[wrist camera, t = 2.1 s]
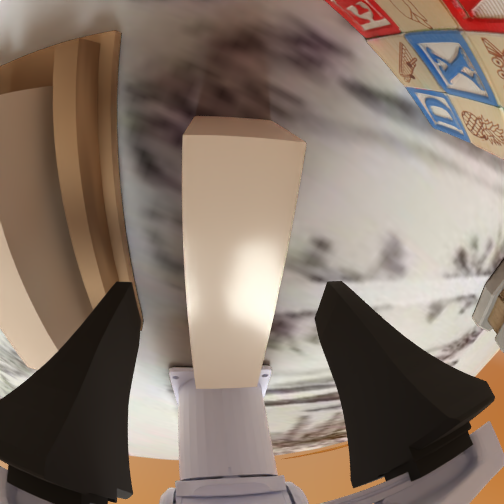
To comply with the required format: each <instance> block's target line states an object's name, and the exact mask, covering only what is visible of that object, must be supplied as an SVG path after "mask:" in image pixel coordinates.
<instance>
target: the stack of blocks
mask: <svg viewBox="0 0 504 504" xmlns="http://www.w3.org/2000/svg"><path fill="white" fill-rule="evenodd" d="M325 1H326V2H327V3H328V4H329V5H330V6H331V7H333V8H334V9H335V10H336V11H337V12H338V13H339V14H340V15H342V16H343V17H344V18H345V19H346V20H347V21H349V23H350V24H351V25H352V26H353V27H354V28H355V29H356V30H357V31H358V32H359V33H360V34H362V35H363V36H364V37H365V38H366V41H367V43H368V44H369V45H370V46H371V47H372V48H373V50H374V51H375V52H376V53H377V54H378V55H379V56H380V57H381V58H382V60H383V61H384V62H385V63H386V64H387V66H388V67H389V68H390V69H391V70H392V72H393V73H394V74H395V75H396V77H397V78H398V79H399V81H400V82H401V83H402V84H403V85H404V86H405V87H406V89H407V91H408V92H409V93H410V95H411V96H412V98H413V99H414V100H415V102H416V103H417V105H418V106H419V107H420V109H421V110H422V112H423V113H424V115H425V116H426V118H427V119H428V121H429V123H430V124H431V125H432V127H433V128H435V129H437V130H440V131H443V132H445V133H448V134H450V135H452V136H455V137H458V138H460V139H462V140H464V141H467V142H469V143H473V144H474V145H475V146H477V147H479V148H481V149H483V150H485V151H487V152H489V153H491V154H493V155H495V156H497V157H499V158H501V159H503V160H504V0H325Z"/></svg>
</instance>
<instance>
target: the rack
mask: <svg viewBox="0 0 504 504" xmlns="http://www.w3.org/2000/svg"><path fill="white" fill-rule="evenodd" d="M121 34H122V33H120V32H118V31H116V30H114V31H109V32H103V33H99V34H94V35H89V36H85V37H81V38H76V39H73V40H69V41H66V42H62V43H59V44H56V45H53V46H50V47H47V48H44V49H41V50H38V51H36V52H33V53H30V54H28V55H25V56H23V57H20V58H18V59H16V60H13V61H11V62H9V63H7V64H4V65H2V66H0V95H1V94H6V93H10V92H15V91H21V90H26V89H32V88H39V87H46V86H53V125H54V140H55V151H56V160H57V168H58V176H59V183H60V189H61V195H62V200H63V206H64V211H65V215H66V220H67V225H68V229H69V233H70V237H71V241H72V245H73V249H74V252H75V256H76V260H77V263H78V266H79V270H80V273H81V276H82V279H83V282H84V285H85V288H86V291H87V294H88V297H89V300H90V303H91V305H92V308H93V310H94V308H95V307H96V306H97V305H98V303H99V302H100V301H101V300H102V298H103V297H104V296H105V295H106V293H107V292H108V291H109V290H110V288H111V287H112V286H113V285H114V284H115V283H116V282H132V284H133V289H134V293H135V298H136V302H137V306H138V310H139V314H140V318H141V329H140V330H141V331H142V326H143V317H142V313H141V309H140V304H139V300H138V296H137V291H136V286H135V282H134V277H133V272H132V266H131V261H130V255H129V249H128V243H127V237H126V230H125V223H124V215H123V207H122V198H121V188H120V176H119V162H118V142H117V85H118V66H119V53H120V43H121Z"/></svg>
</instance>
